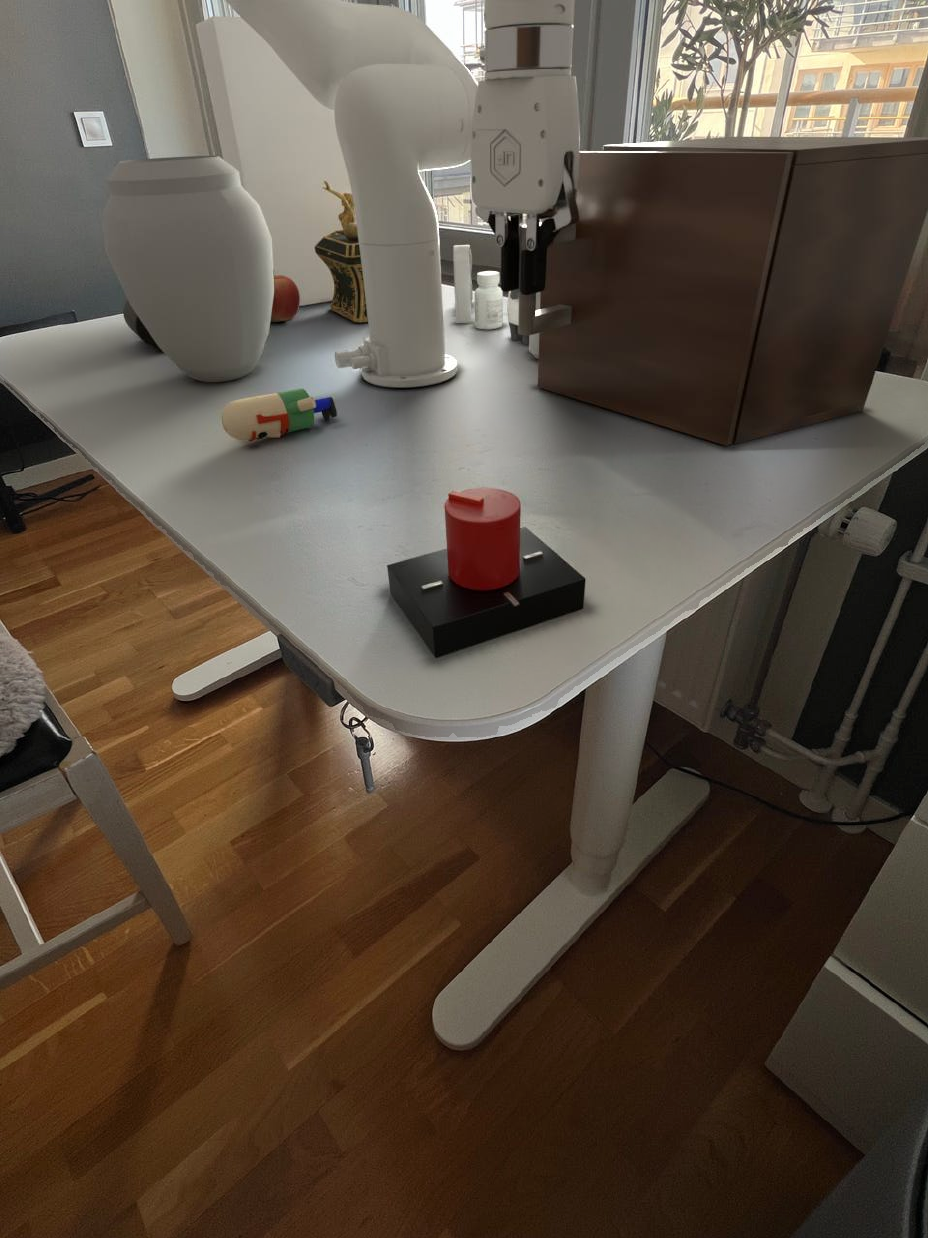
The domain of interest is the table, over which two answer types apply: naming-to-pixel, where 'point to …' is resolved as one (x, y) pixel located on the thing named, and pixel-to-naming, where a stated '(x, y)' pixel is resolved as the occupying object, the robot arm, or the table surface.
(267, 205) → the storage box
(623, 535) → the table surface
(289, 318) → the apple
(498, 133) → the robot arm
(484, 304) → the pill bottle
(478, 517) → the red rotary knob
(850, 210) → the cabinet
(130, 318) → the end cap
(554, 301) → the cabinet door
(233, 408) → the toy figurine
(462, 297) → the handheld gaming console
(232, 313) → the vase
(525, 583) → the valve panel
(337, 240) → the decorative box
